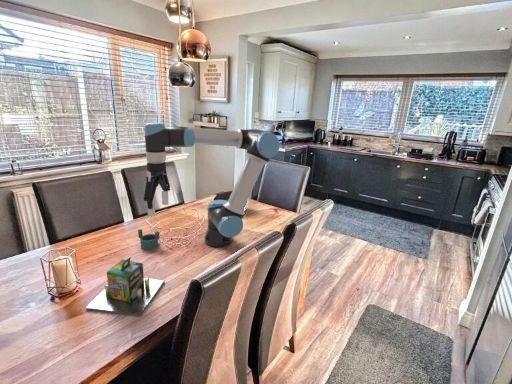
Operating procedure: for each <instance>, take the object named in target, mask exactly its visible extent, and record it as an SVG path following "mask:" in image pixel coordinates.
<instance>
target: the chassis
mask: <svg viewBox="0 0 512 384" xmlns="http://www.w3.org/2000/svg"><path fill="white" fill-rule="evenodd" d="M164 284H165V280H164V279H157V278H148V277H144V290H143V291H141V288H138V289H137V297H136V298H135V299H134V300H133V301H132V302H131V303H130V302H126V301H121V300H117V299H112V298H110V295H109V287H108V283H107V284H105V285H104V289H103V290H102V291H101V292H99V294H98V295H96V297H95V298H94V299H93V300H92V301H90V303H89V304H88V305H87V306H86V307H85V310H86V311H91V312H92V311H93V312H101V313H109V314H114V315H115V314H116V315H125V316H133V317H142V315H143V314H144V312H145V311H146V310H147V308H148V306H149V305H150V304H151V303H152V301H153V300H154V298H155V297H156V295H157V294H158V292H159V291H160V290H161V288H162V287H163V285H164Z"/></svg>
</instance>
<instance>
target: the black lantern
mask: <svg viewBox="0 0 512 384" xmlns="http://www.w3.org/2000/svg"><path fill="white" fill-rule="evenodd" d="M232 191H233V189H232V190H230V191H229V190H228V191H223V192H221V193H217V194H215V196H214V198H213V201H214V200H227V201H228V200H229V198H230V195H231V193H232Z"/></svg>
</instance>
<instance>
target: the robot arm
mask: <svg viewBox="0 0 512 384" xmlns="http://www.w3.org/2000/svg"><path fill="white" fill-rule="evenodd" d="M144 141H145V142H144V143H145V156H146V171H147V172H149V173H150V175H148V176H146V180H145V181H146V183H145V188H144V189H145V190H144V195H143V201H144V202H146V204H147V216H149V217H155V216H156V207H155V200H154V198H155V194H156V190H157V188H158V186H160V188H161V205H162V206H169V203H170V202H169V192H170V191H171V185H170V180H169V177H168V172H167V162H166V161H167V157H166V156H167V154H166V148H190V147H191V148H192V147H194V146H195V145H205V146H206V145H207V146H224V147H225V146H226V147H235V148H236V149H242V150H246V152H245V154H246V157H247V158H246V161H245V162H244V165H243V167H242V169H241V171H240V173H239V176H238V178H237V180H236V182H235V184H234V187H233V189H232V190H233V191H232V190H231V191H232V193H231V195H230V198H229V200H228V201H227V200H214V199H213V200H210V201H209V202H207V203H208V204H207V230H206V232H205V235H204V243H205V245H207V246H209V247H212V248H223V247H226V246H229V245H231V244H232V243H233V238H234V237H236V236H237V235H240V233H241V232H242V230H243V228H244V222H243V218H244V216H245V214H246V213H245V210H244V207H245V205H246V203H247V204H248V201H249V198H250V196H251V193H252V192H253V189H254V187H255V184H256V183H257V180H258V179H259V176H260V174H261V172H262V170H263V169H264V168H263V167H264V165H267V164H269V161H270V159H272V158H273V157H275V156H276V155H277V154H278V152H279V150H280V141H279V138H278V136H277V135H276V134H275V133H273V132H271V131H268V130H262V129H258V128H250V129H240V128H239V129H237V130H224V129H214V128H213V129H212V128H204V127H203V128H201V127H191V126H190V127H189V126H178V125H170V126H168V127H167V128H166V127H165V124H164V123H161V122H146V123H145V124H144Z"/></svg>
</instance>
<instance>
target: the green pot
mask: <svg viewBox="0 0 512 384" xmlns="http://www.w3.org/2000/svg"><path fill="white" fill-rule="evenodd" d="M137 232H138V233H137V234H138V238H139V239H140V249H141V250H142V251H153V250H156V249H157V248H158V247H159V240H160V231H155V232H154V233H147V234H143V229H138V231H137Z"/></svg>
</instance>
